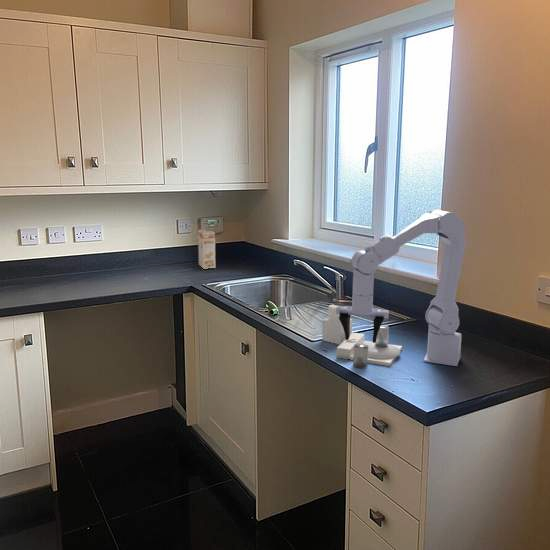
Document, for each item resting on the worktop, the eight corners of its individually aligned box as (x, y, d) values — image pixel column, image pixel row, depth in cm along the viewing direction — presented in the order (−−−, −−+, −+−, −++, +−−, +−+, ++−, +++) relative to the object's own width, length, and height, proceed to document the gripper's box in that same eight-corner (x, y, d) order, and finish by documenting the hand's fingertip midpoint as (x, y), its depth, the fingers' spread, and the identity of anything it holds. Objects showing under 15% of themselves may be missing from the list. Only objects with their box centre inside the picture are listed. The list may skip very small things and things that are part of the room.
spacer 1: (368, 364, 162) (370, 344, 161) (364, 369, 159) (365, 349, 157) (355, 361, 164) (356, 342, 162) (351, 366, 160) (352, 346, 159)
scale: (405, 349, 174) (405, 338, 174) (393, 366, 160) (394, 355, 159) (352, 341, 181) (352, 331, 181) (336, 357, 167) (337, 346, 166)
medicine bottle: (333, 335, 188) (334, 300, 185) (352, 339, 183) (353, 304, 181) (321, 340, 182) (322, 305, 180) (340, 345, 178) (341, 309, 175)
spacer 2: (390, 345, 173) (391, 327, 172) (383, 348, 170) (383, 329, 169) (380, 342, 176) (380, 324, 175) (372, 345, 173) (373, 326, 172)
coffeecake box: (216, 269, 294) (215, 232, 290) (202, 270, 292) (201, 233, 288) (211, 264, 308) (210, 229, 304) (198, 264, 306) (197, 229, 302)
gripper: (390, 292, 158) (388, 338, 161) (340, 288, 163) (338, 333, 165) (387, 298, 152) (385, 346, 154) (334, 294, 156) (333, 340, 159)
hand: (360, 340), depth 160 cm, fingers open, 7 cm apart
